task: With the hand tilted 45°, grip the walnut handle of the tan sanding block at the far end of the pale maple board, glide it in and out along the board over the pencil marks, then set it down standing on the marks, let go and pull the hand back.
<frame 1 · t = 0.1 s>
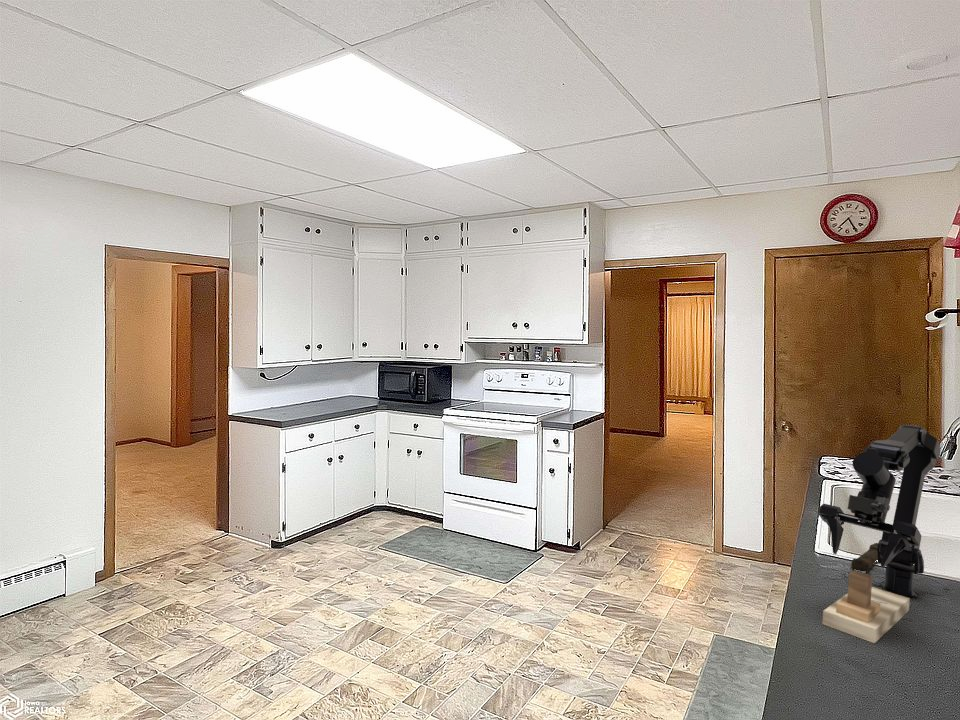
hand: (857, 560, 131), 15 cm above the countertop, tool tilted 35°, fingers open, 9 cm apart
board: (866, 617, 137), on the countertop
sanding block: (857, 612, 132), point 3 cm above the countertop, touching board
hand tool: (867, 565, 170), on the countertop
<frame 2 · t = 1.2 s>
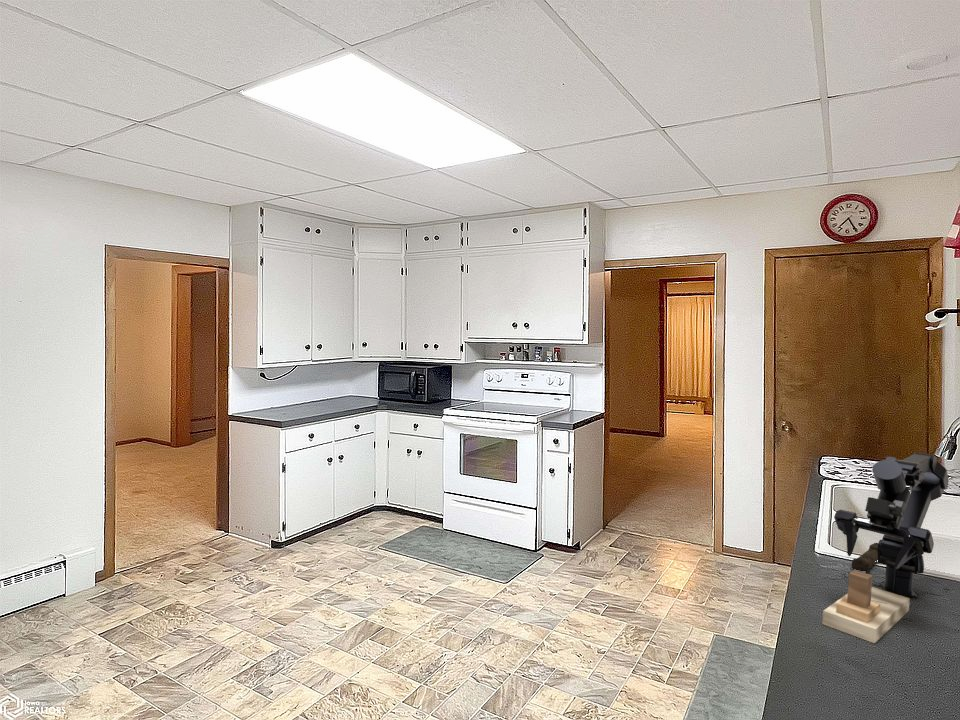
hand: (871, 561, 136), 13 cm above the countertop, tool tilted 45°, fingers open, 9 cm apart
nothing on the countertop moved.
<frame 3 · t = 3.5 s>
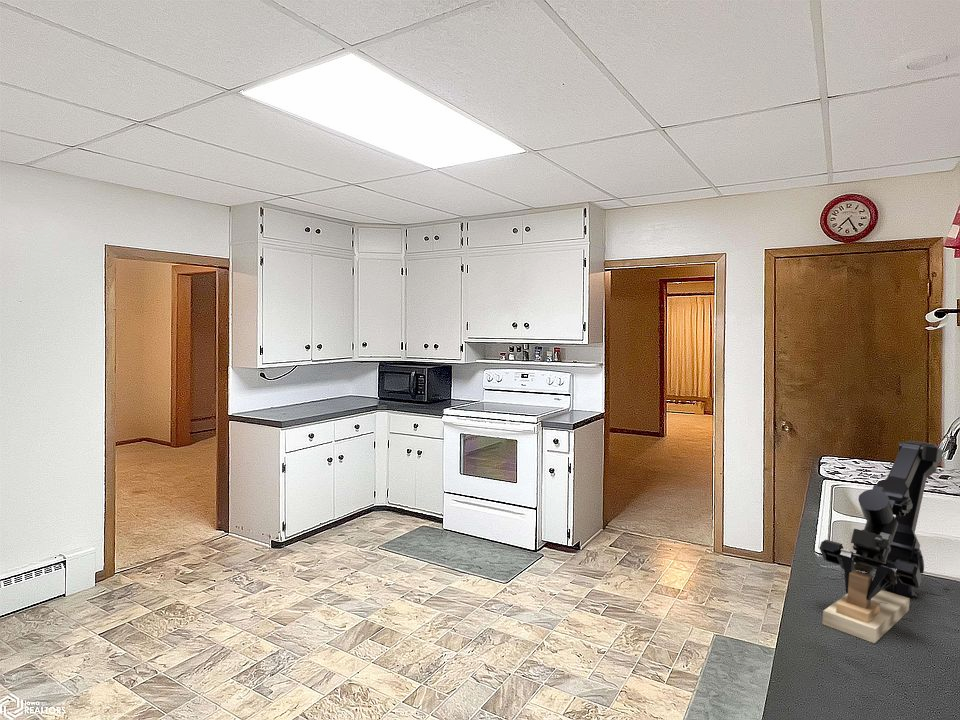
hand: (857, 595, 131), 7 cm above the countertop, tool tilted 45°, fingers closed on sanding block, 4 cm apart
sanding block: (857, 612, 132), point 3 cm above the countertop, touching board, gripper
everything else where it was.
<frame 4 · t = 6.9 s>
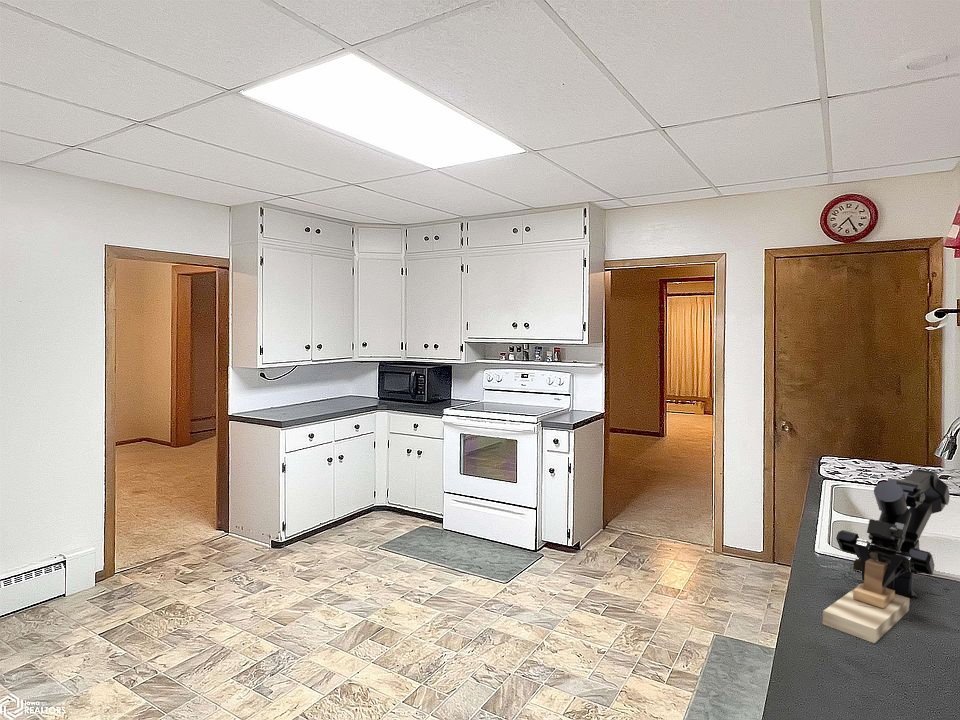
hand: (873, 582, 138), 7 cm above the countertop, tool tilted 45°, fingers closed on sanding block, 4 cm apart
sanding block: (873, 598, 139), point 3 cm above the countertop, touching gripper
everything else where it was.
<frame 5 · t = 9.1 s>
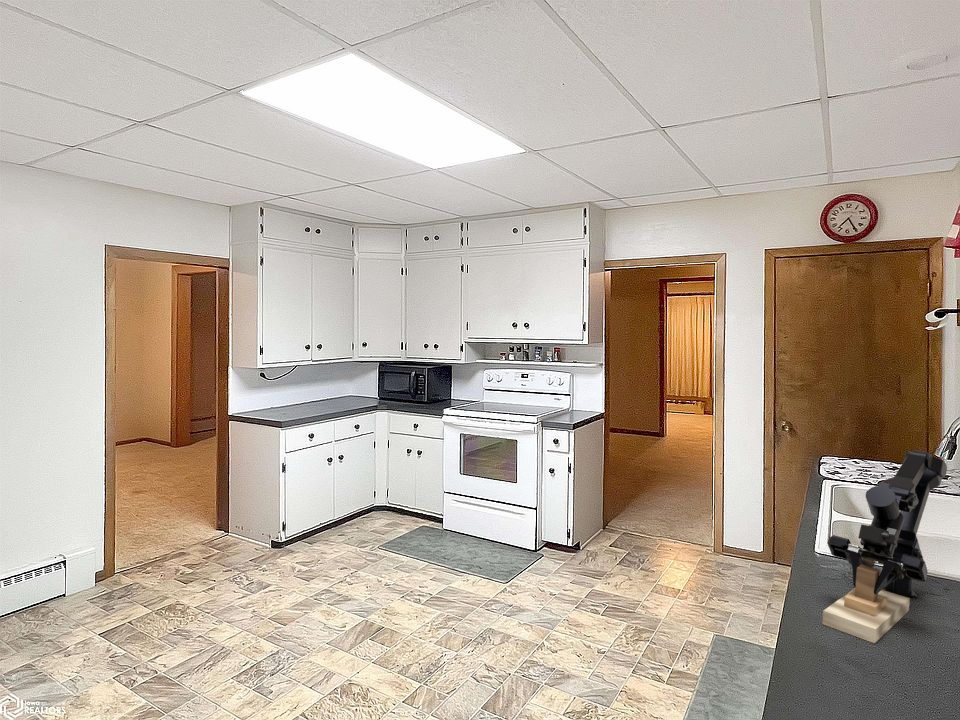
hand: (864, 589, 135), 7 cm above the countertop, tool tilted 45°, fingers closed on sanding block, 4 cm apart
sanding block: (865, 605, 136), point 3 cm above the countertop, touching gripper
everything else where it was.
when the fingers open (7 cm above the countertop, at t = 10.3 s): sanding block stays where it is, resting on board.
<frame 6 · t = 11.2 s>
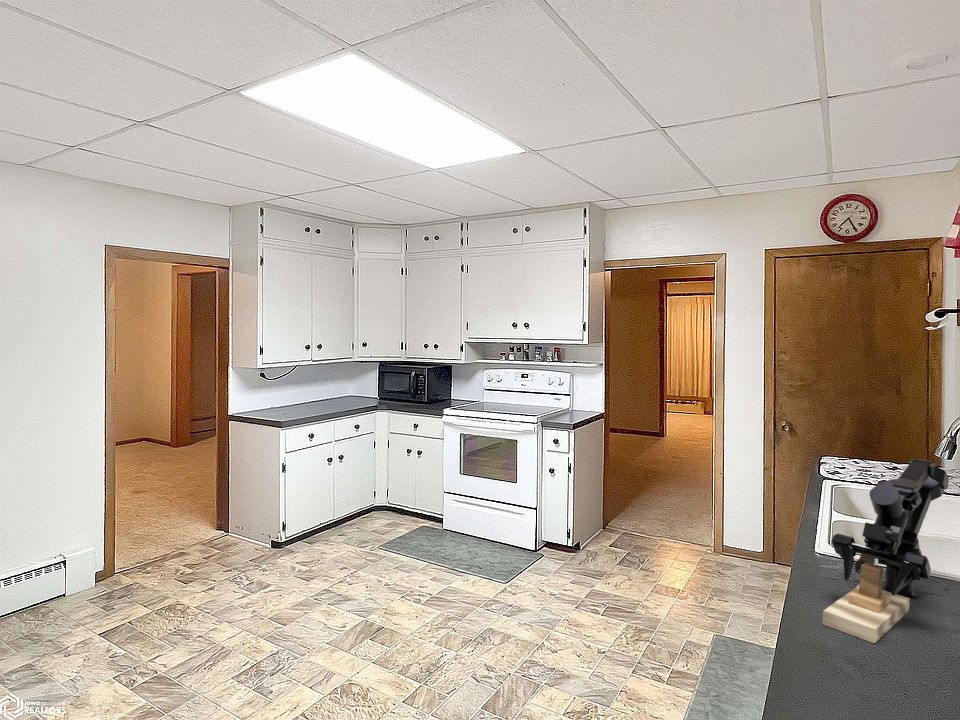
hand: (868, 587, 136), 7 cm above the countertop, tool tilted 45°, fingers open, 9 cm apart
sanding block: (869, 603, 137), point 3 cm above the countertop, touching board
everything else where it was.
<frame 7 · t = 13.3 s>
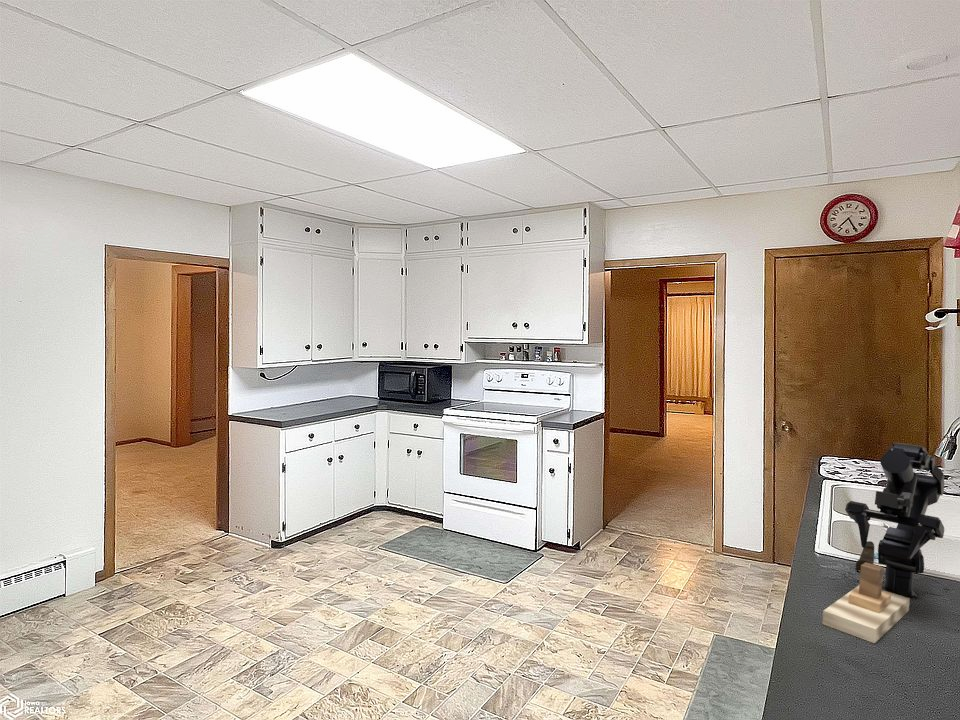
hand: (885, 552, 140), 14 cm above the countertop, tool tilted 35°, fingers open, 9 cm apart
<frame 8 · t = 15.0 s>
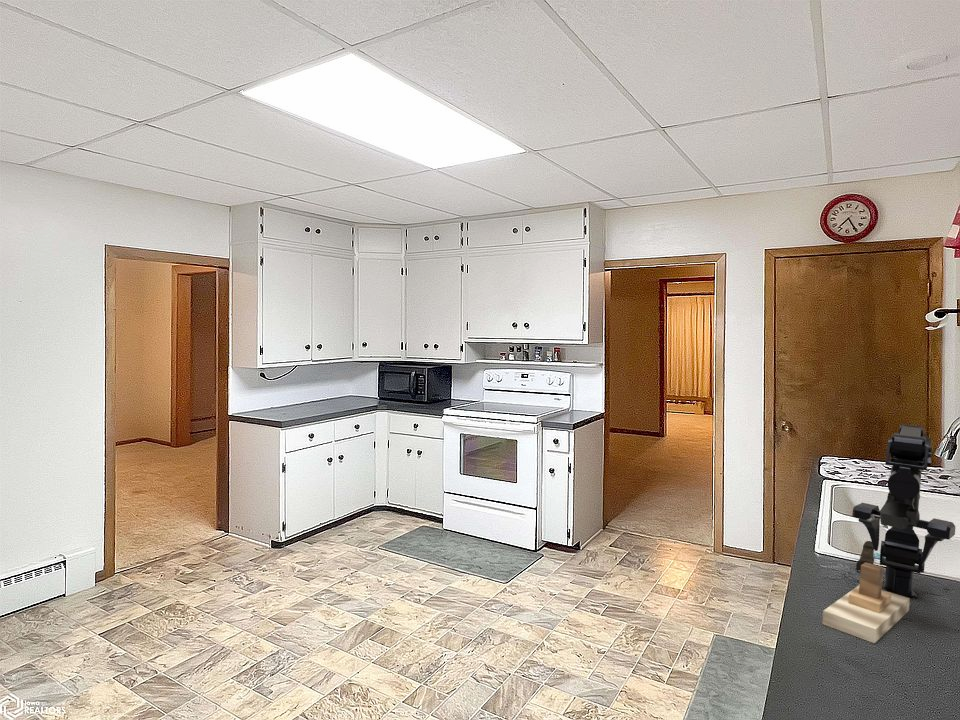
hand: (899, 556, 140), 13 cm above the countertop, tool pointing down, fingers open, 9 cm apart
nothing on the countertop moved.
at the end: sanding block inside the target area on the board (0.5 cm from its centre), point 3.0 cm above the board's base; sanding block tilted 0°; the gripper is holding nothing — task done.
